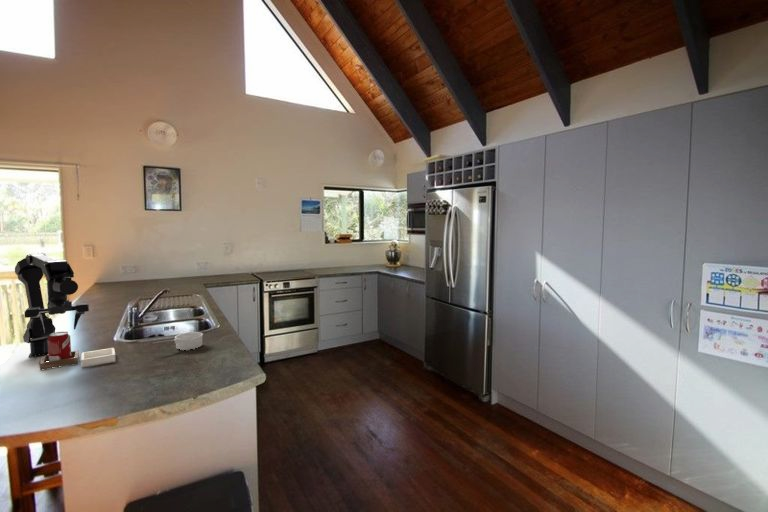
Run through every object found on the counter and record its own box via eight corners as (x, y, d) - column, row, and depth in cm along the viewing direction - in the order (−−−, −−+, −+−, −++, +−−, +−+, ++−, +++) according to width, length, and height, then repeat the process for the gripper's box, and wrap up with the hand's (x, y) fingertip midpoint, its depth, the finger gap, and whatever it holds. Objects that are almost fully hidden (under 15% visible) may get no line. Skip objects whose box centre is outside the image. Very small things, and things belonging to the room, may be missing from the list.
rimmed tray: (82, 359, 150) (81, 352, 150) (114, 354, 156) (114, 347, 156) (81, 367, 142) (81, 360, 141) (115, 361, 148) (115, 354, 148)
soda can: (58, 366, 142) (56, 336, 141) (44, 365, 144) (42, 335, 143) (76, 360, 149) (74, 331, 148) (62, 359, 150) (61, 330, 149)
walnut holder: (43, 361, 147) (42, 355, 147) (78, 356, 154) (78, 350, 154) (40, 370, 139) (39, 363, 138) (78, 363, 145) (77, 357, 145)
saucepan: (149, 352, 160) (149, 339, 159) (197, 342, 175) (197, 330, 174) (158, 358, 152) (158, 345, 152) (207, 347, 167) (207, 335, 167)
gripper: (21, 298, 132) (24, 340, 133) (87, 293, 144) (89, 331, 145) (25, 293, 141) (27, 333, 142) (87, 289, 152) (89, 325, 154)
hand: (59, 331), depth 145 cm, fingers open, 9 cm apart
